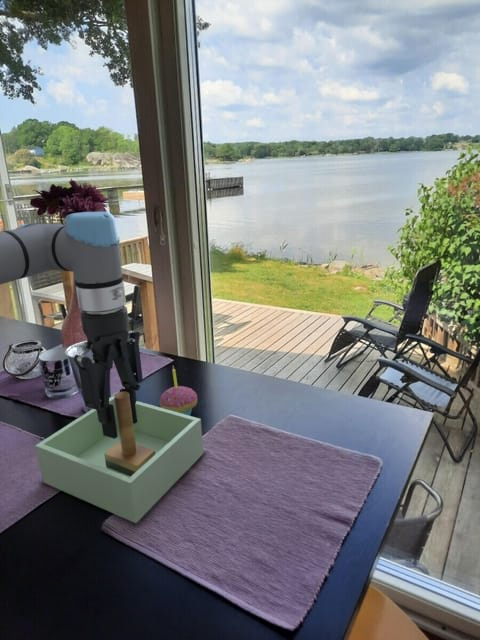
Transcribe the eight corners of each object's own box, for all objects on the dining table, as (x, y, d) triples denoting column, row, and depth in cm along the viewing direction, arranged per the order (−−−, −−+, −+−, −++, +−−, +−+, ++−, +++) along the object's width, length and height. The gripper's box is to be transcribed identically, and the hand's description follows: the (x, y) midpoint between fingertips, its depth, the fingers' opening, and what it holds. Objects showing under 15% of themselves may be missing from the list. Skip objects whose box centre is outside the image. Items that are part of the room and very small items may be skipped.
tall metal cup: (111, 421, 99) (92, 293, 89) (65, 418, 101) (41, 293, 91) (130, 397, 109) (115, 280, 99) (88, 395, 111) (68, 279, 101)
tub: (43, 482, 81) (35, 445, 78) (119, 426, 97) (114, 394, 94) (136, 523, 71) (130, 483, 68) (203, 453, 87) (200, 418, 84)
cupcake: (156, 413, 102) (151, 366, 98) (190, 403, 105) (187, 358, 101) (168, 431, 95) (163, 382, 91) (204, 420, 98) (201, 372, 94)
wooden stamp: (106, 466, 83) (94, 396, 78) (124, 452, 87) (114, 384, 82) (139, 479, 79) (129, 406, 74) (156, 463, 83) (148, 393, 78)
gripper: (78, 328, 64) (100, 461, 72) (155, 296, 79) (166, 409, 87) (43, 321, 68) (68, 449, 75) (123, 291, 82) (136, 401, 90)
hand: (120, 428), depth 81 cm, fingers open, 5 cm apart
